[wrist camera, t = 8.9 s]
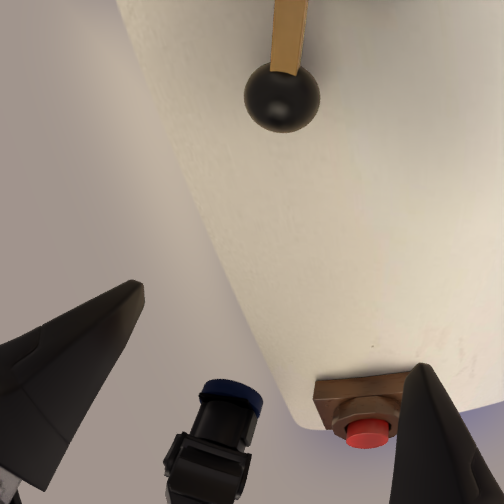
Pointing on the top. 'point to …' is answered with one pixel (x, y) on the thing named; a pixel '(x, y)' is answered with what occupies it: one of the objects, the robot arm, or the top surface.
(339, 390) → the button block
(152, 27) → the top surface
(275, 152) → the top surface
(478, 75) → the top surface
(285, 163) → the top surface
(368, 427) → the button
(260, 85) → the lever
